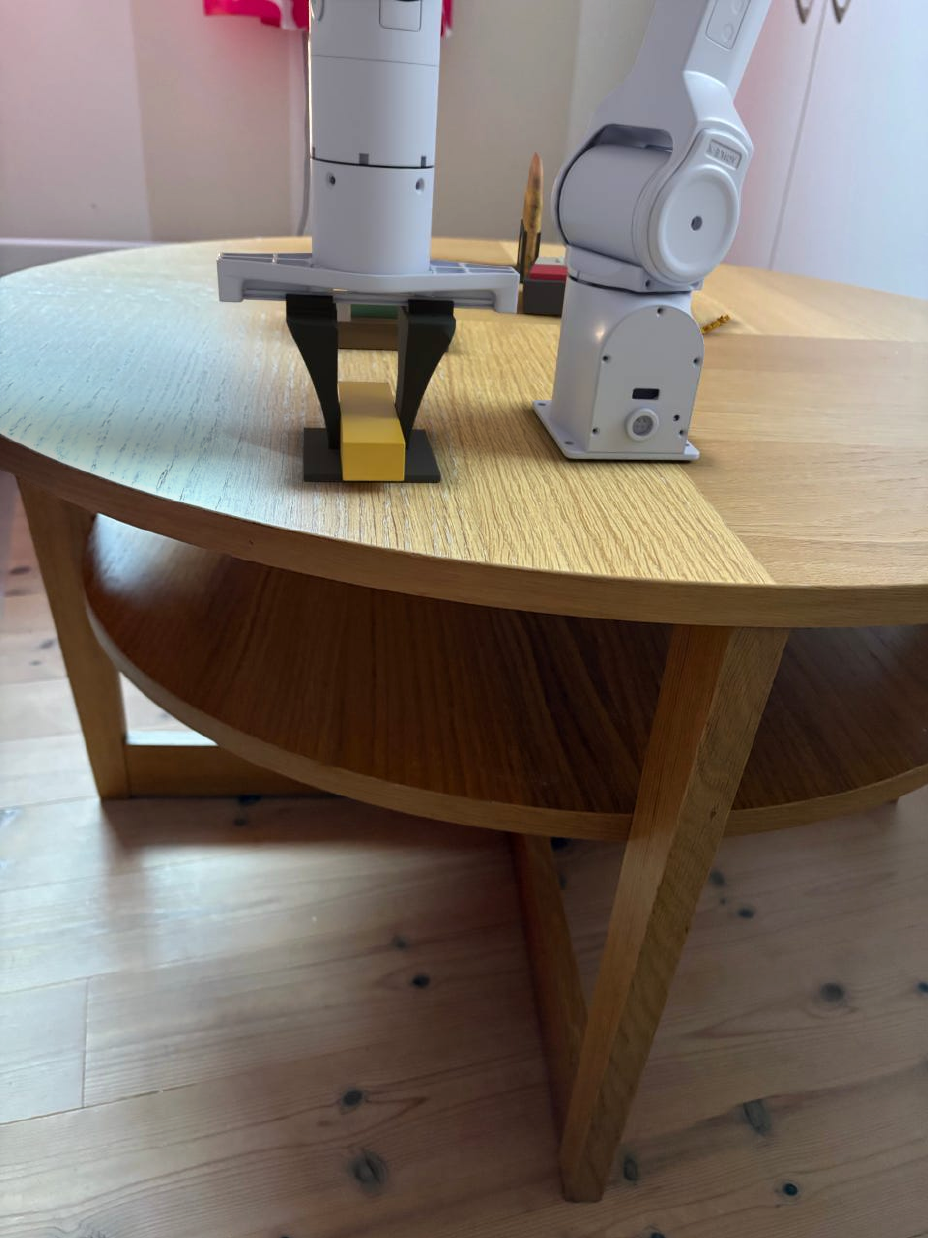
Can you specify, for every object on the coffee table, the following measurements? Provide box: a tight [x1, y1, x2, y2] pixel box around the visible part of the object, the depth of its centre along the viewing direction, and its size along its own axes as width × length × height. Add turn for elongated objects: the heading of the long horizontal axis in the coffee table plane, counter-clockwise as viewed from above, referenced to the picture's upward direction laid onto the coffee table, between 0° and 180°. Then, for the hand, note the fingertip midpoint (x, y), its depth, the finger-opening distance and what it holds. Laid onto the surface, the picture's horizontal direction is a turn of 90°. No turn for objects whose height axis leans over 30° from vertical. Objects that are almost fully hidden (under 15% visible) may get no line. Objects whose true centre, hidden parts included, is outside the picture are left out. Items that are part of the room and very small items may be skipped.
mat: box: [302, 427, 442, 483], centre depth 48 cm, size 7×7×1 cm
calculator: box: [521, 256, 568, 316], centre depth 85 cm, size 11×4×15 cm
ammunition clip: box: [516, 151, 544, 284], centre depth 97 cm, size 11×2×12 cm, turn 178°
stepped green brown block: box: [336, 290, 450, 353], centre depth 71 cm, size 9×9×4 cm
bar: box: [338, 380, 405, 482], centre depth 47 cm, size 10×3×2 cm, turn 9°
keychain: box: [700, 313, 731, 335], centre depth 82 cm, size 8×1×1 cm, turn 148°
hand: (368, 443), depth 48 cm, fingers closed on bar, 3 cm apart
